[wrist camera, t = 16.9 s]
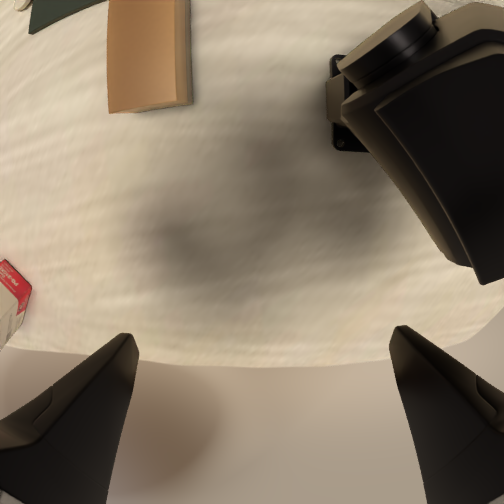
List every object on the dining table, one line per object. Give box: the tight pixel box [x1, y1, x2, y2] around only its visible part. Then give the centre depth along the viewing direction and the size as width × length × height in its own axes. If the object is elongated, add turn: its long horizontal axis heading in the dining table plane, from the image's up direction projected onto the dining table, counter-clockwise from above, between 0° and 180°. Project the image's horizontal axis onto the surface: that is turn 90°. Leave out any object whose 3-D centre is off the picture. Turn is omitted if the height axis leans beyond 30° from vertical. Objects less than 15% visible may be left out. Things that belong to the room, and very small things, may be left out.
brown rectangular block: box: [107, 0, 193, 114], centre depth 13 cm, size 4×8×4 cm, turn 2°
